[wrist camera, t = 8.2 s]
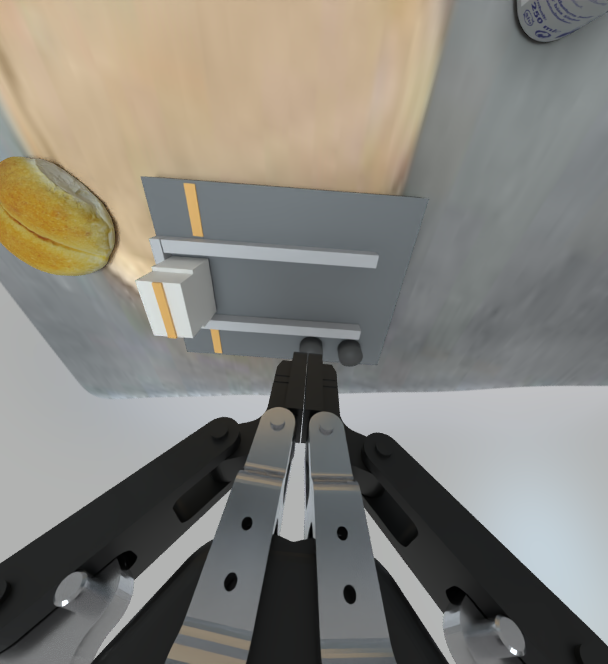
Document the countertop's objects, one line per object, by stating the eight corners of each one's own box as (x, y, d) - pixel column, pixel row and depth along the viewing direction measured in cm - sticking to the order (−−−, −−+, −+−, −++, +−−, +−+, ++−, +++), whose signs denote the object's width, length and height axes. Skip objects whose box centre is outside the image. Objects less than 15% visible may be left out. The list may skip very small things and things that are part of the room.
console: (418, 197, 18) (438, 199, 16) (373, 353, 27) (380, 374, 24) (156, 177, 18) (126, 175, 15) (195, 341, 27) (180, 360, 24)
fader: (208, 258, 19) (177, 280, 15) (216, 311, 22) (192, 342, 18) (172, 256, 19) (131, 277, 15) (185, 309, 22) (153, 339, 18)
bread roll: (5, 225, 21) (-55, 232, 18) (31, 137, 17) (-37, 125, 14) (97, 288, 24) (62, 305, 21) (135, 224, 20) (100, 232, 17)
